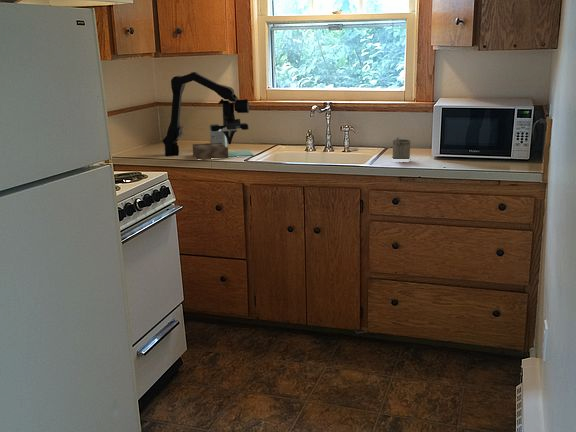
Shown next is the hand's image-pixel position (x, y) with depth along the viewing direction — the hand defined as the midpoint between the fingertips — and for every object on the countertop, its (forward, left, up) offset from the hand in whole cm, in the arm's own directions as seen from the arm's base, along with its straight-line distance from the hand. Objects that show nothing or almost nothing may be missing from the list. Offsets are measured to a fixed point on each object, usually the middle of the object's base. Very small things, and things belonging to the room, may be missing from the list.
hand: (229, 144), depth 316 cm
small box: (-2, +19, -6) cm, 20 cm away
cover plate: (+4, 0, -6) cm, 8 cm away
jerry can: (+72, -45, -6) cm, 85 cm away
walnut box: (-10, 0, -6) cm, 12 cm away
